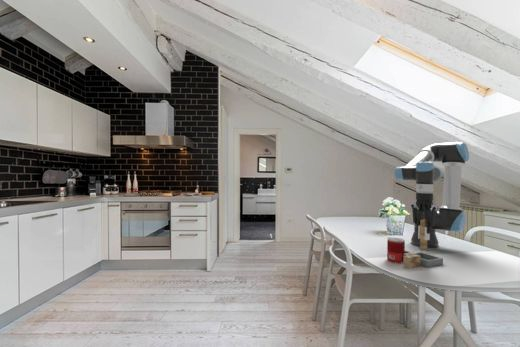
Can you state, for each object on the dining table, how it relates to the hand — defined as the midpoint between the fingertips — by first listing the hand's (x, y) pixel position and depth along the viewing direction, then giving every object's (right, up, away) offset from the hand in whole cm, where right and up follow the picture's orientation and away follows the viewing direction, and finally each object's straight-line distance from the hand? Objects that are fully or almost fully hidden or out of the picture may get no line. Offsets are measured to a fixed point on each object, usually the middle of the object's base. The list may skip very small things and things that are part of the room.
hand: (423, 239), depth 142 cm
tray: (0, -12, 0) cm, 12 cm away
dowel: (0, -5, 0) cm, 5 cm away
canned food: (-13, -12, +2) cm, 18 cm away
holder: (-5, -12, +10) cm, 16 cm away
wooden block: (-9, -12, -6) cm, 16 cm away
